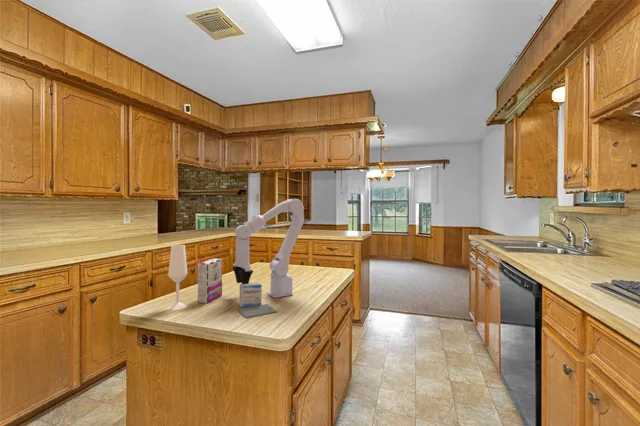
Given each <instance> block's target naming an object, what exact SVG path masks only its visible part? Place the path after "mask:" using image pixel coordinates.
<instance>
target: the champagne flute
mask: <svg viewBox="0 0 640 426" xmlns="http://www.w3.org/2000/svg"><path fill="white" fill-rule="evenodd" d="M167 275H168V278H170V280H172V282H174V283H175V303H172V304H171V305H169V306H168V307H167V309H168V310H170V311H179V310H182V309H183V310H184V309H185V308H187V307H188V305H187V304H185V303H182V302H180V282H182V281H183V280H185V278H187V275H188V263H187V253H186V245H185V244H173V245H171V246H170V255H169V266H168V273H167Z"/></svg>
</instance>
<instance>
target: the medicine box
mask: <svg viewBox="0 0 640 426" xmlns="http://www.w3.org/2000/svg"><path fill="white" fill-rule="evenodd" d="M262 287H263V286H262V284H261V283H260V282H249V284H242V283H239V301H238V302H239V306H240V308H246V307H251V306H257V305H262V292H263V291H262V289H263V288H262Z"/></svg>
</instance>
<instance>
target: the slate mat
mask: <svg viewBox="0 0 640 426" xmlns="http://www.w3.org/2000/svg"><path fill="white" fill-rule="evenodd" d="M237 312H239V313H240V314H241V315H242V316H243V317H244V318H245V319H249V318H255V317H260V316H264V315H271V314H275V313H276V314H277V313H278V311H277V310H276V309H275V308H273V307H272V306H271V305H269V304H268V303H264V304H261V305H257V306H251V307H246V308H241V307H240V308H237Z"/></svg>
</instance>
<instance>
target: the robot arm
mask: <svg viewBox="0 0 640 426" xmlns="http://www.w3.org/2000/svg"><path fill="white" fill-rule="evenodd" d="M304 210H305V206H304V204H303V202H302V200H301V199H299V198H287V199H286V200H285V201H282V202H280V203H278V204H277V205H274V207H272V208H271V209H269V210H268V211H267V212H265V213H264V214H262V215H260V214H256V215H255V214H254V215H252V218H251V219H249V220H248V221H244V222H242V224H241V225H238V226H236V229H235V231H234V234H235V236H236V237H235V239H236V241H235V261H234V263H232V267H231V268H232V270H233V272H234V275H235V281H236V284H249V283H250V279H251V276H252V274H253V273H254V270H252V269H251V265H250V264H251V263H250V250H251V249H250V247H251V246H250V238H251V236H252V234H254V233H256V232H257V231H260V230H261V229H262V228H264V227H265V226H266V224H267V223H266V222H267V221H269V220H271V219H273V218H274V217H276V216H278V215H280V214H281V213H287V214H288V216H289V217H290V219H291V222H290V225H289V227H288V230H287V232H286V235H285V237H284V239H283V241H282V243H281V244H282V245H281V246H280V249H279V251H278V252H277V253H276V255H275V256H274V258H273V259H272V260H271V261H270V263H269V269H270V270H271V273H270V291H268V292H267V295H269V296H270V297H272V298H275V299H276V298H281V297H287V296H292V295H293V296H294V293H293V277H292V274H290V273H288V272H289V265H290V262H291V261H290V257H291V254H292V251H293V249H294V247H295V244H296V241H297V239H298V236H299V234H300V232H301V230H302V227H303V226H304V222H305V213H304Z"/></svg>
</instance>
